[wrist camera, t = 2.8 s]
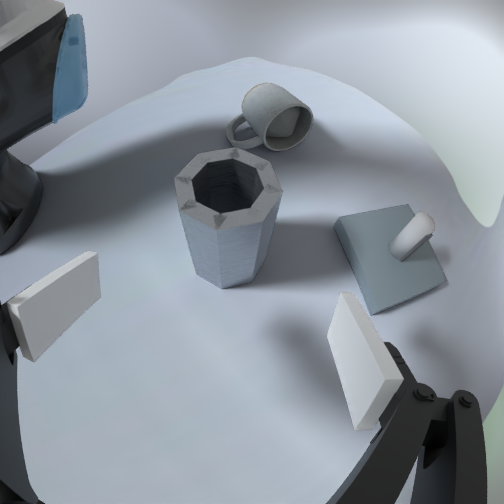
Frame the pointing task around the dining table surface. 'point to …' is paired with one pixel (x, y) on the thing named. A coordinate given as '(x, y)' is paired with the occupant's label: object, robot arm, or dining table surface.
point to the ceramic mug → (272, 118)
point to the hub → (228, 213)
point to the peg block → (390, 254)
